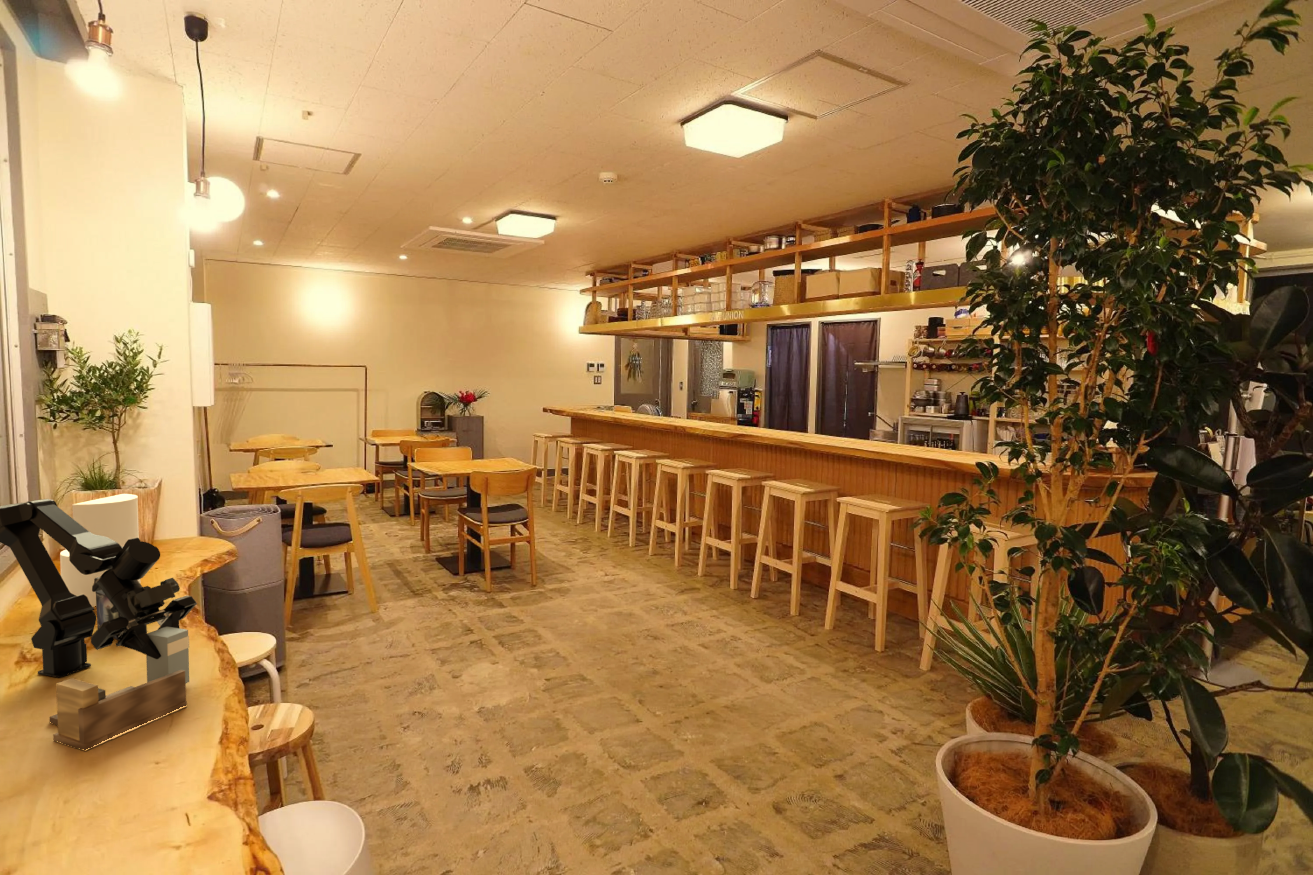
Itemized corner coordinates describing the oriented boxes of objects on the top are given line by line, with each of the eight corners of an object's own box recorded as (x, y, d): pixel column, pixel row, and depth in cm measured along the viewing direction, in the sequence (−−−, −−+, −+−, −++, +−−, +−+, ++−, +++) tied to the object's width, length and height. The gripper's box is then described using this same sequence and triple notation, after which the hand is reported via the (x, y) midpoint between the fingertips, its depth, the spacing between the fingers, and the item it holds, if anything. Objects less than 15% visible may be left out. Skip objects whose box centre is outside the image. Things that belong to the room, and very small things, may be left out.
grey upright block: (169, 691, 138) (167, 637, 138) (147, 687, 140) (145, 633, 139) (190, 681, 143) (188, 629, 142) (168, 677, 144) (167, 626, 143)
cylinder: (155, 589, 204) (152, 494, 201) (108, 608, 186) (104, 505, 184) (97, 587, 204) (93, 492, 202) (44, 606, 187) (40, 503, 184)
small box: (94, 632, 170) (93, 590, 169) (125, 624, 176) (123, 583, 175) (117, 641, 165) (116, 598, 164) (148, 632, 171) (147, 591, 170)
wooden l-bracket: (85, 751, 118) (82, 693, 117) (26, 731, 123) (24, 676, 123) (186, 707, 134) (185, 655, 133) (131, 691, 140) (129, 642, 139)
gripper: (100, 581, 132) (147, 646, 130) (189, 558, 150) (231, 614, 148) (70, 617, 134) (116, 681, 132) (161, 589, 152) (202, 645, 150)
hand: (170, 653), depth 141 cm, fingers closed on grey upright block, 4 cm apart
